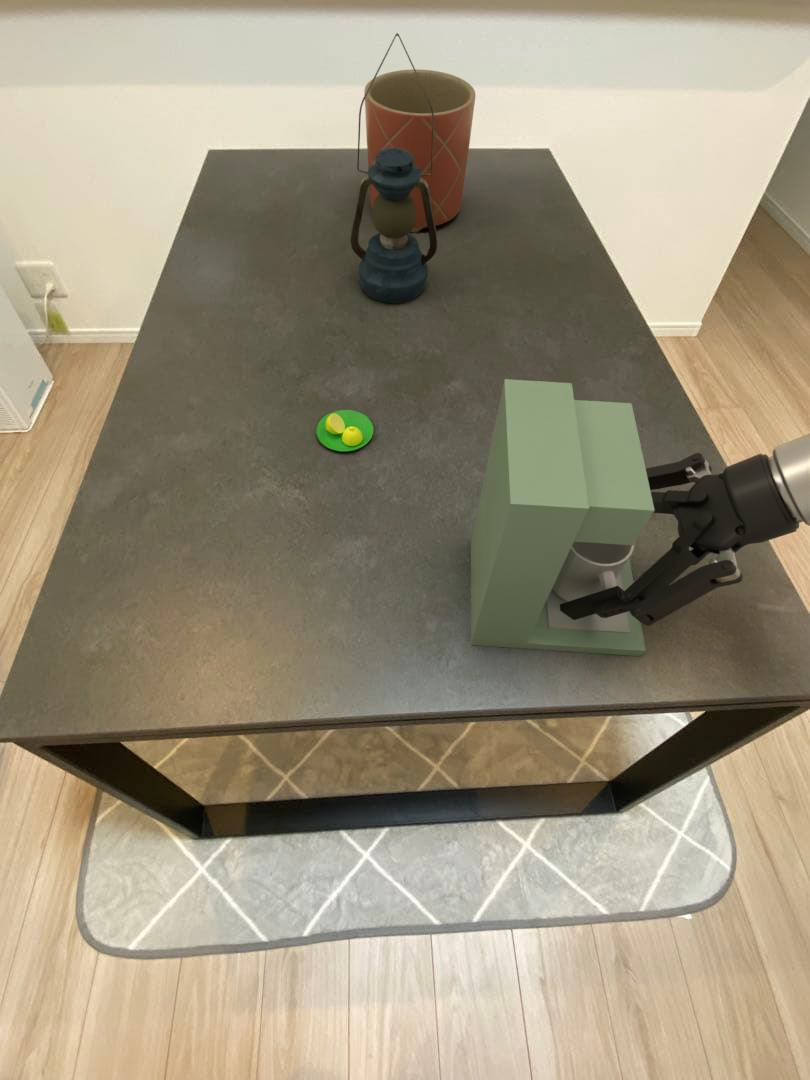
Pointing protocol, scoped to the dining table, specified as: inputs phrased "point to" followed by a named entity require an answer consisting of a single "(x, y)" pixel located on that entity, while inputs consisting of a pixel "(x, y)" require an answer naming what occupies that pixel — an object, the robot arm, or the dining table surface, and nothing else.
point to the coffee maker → (554, 517)
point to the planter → (423, 133)
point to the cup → (590, 569)
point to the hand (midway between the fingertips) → (562, 569)
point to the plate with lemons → (344, 430)
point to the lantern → (394, 223)
